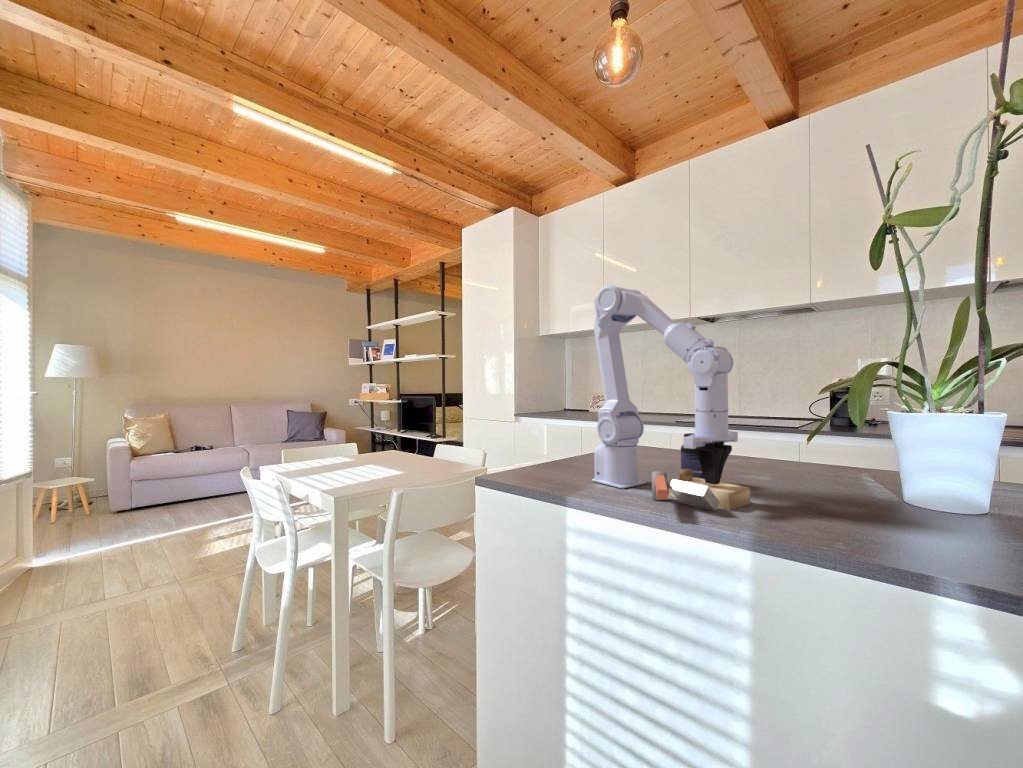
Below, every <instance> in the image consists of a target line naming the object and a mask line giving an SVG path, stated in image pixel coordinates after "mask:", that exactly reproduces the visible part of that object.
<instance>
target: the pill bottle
mask: <svg viewBox="0 0 1023 768" xmlns="http://www.w3.org/2000/svg"><path fill="white" fill-rule="evenodd" d="M692 434H695V432H694V433H693V432H692V433H691V432H690V433H689V432H687V433H683V437H687V436H690V435H692ZM704 443H705V442H704ZM680 469H691V470H692V477H696V478H702V479H704V475H703V472H702V468H701V465H700V463H699V460H698V458H697V456H696V455H695V453H694V451H693V450H692V449H690V448H684V443H682V445H681V446H680Z"/></svg>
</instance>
